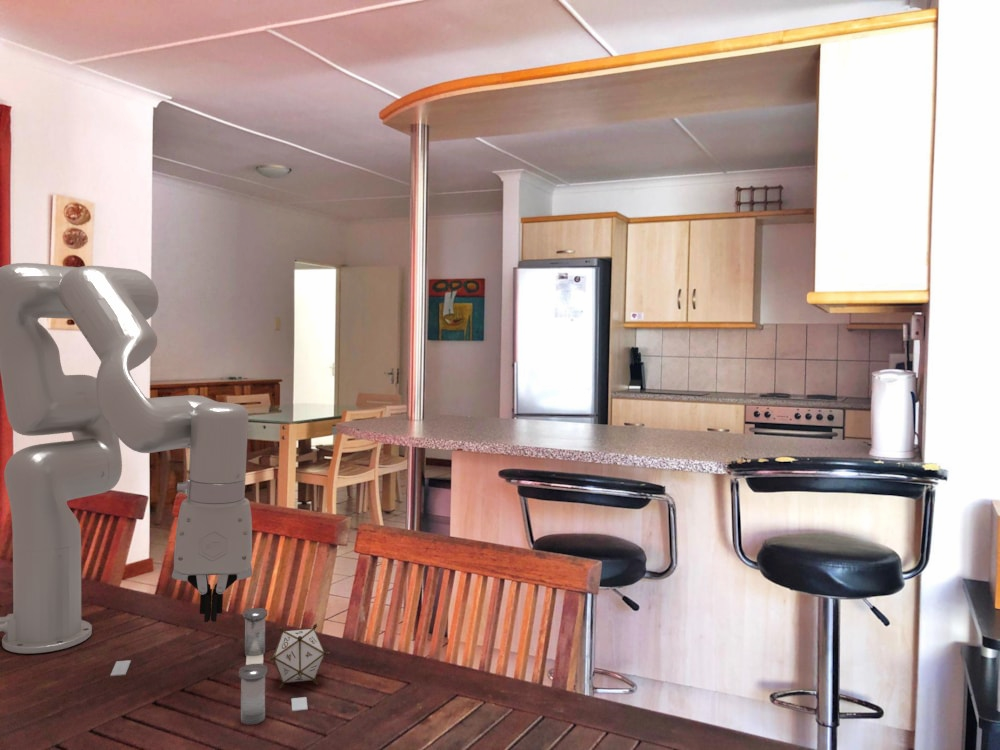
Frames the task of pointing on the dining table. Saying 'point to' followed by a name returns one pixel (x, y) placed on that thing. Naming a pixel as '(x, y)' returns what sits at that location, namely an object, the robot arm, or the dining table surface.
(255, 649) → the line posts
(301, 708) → the distance lines
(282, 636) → the game die
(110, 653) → the dining table surface
